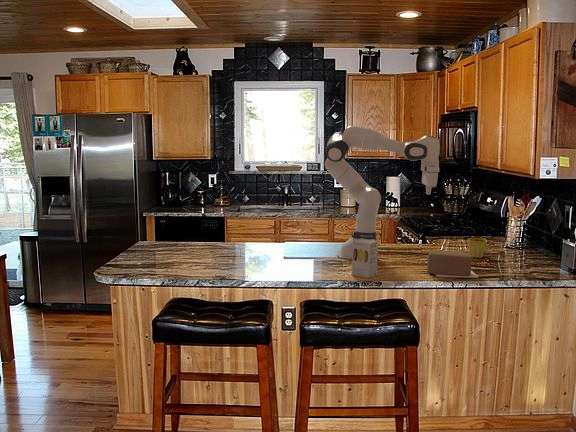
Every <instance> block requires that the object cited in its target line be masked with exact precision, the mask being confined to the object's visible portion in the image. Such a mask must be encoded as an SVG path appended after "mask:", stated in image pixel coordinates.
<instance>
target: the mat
mask: <svg viewBox="0 0 576 432" xmlns="http://www.w3.org/2000/svg"><path fill="white" fill-rule="evenodd" d="M434 275H435V276H436V277H439V278H440V277H444V278H466V279H467V278H470V279H471V278H472V279H473V278H474V279H478V278H479V276H478V275H477V274H476V273H475V272H474V271H473V270H471V275H470V276H457V275H442V274H434Z"/></svg>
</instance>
